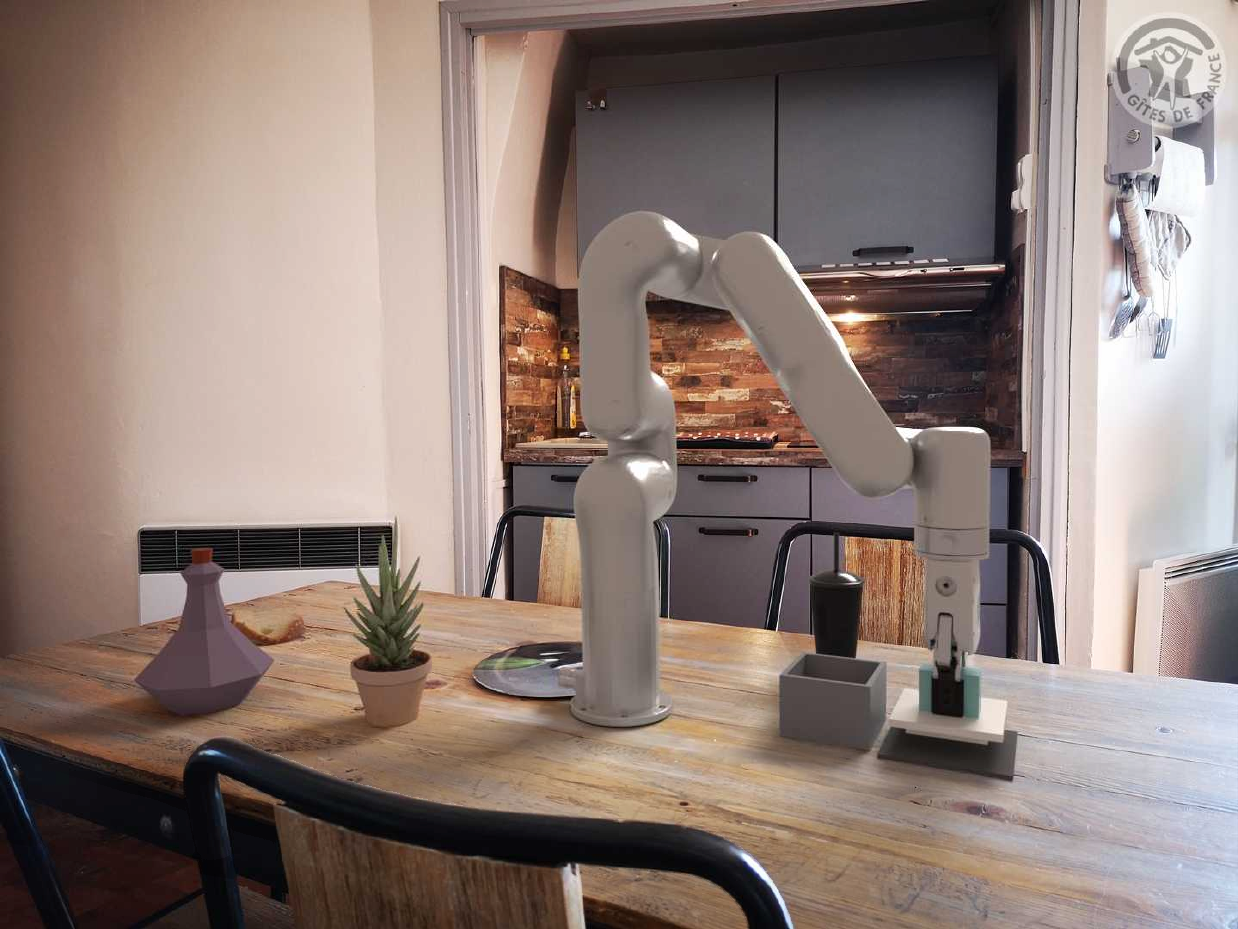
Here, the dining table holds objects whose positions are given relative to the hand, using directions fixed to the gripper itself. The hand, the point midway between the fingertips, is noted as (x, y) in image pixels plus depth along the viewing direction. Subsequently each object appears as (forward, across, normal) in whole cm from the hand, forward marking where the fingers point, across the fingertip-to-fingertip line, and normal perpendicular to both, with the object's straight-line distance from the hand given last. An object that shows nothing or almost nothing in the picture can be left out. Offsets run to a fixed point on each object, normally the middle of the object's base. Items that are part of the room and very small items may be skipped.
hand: (949, 708), depth 92 cm
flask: (+5, -25, +87) cm, 91 cm away
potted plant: (+5, -19, +61) cm, 64 cm away
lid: (+2, 0, 0) cm, 2 cm away
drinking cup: (+4, +19, +16) cm, 25 cm away
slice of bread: (+5, +4, +112) cm, 112 cm away
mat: (+4, 0, 0) cm, 4 cm away
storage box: (+4, 0, +12) cm, 13 cm away
